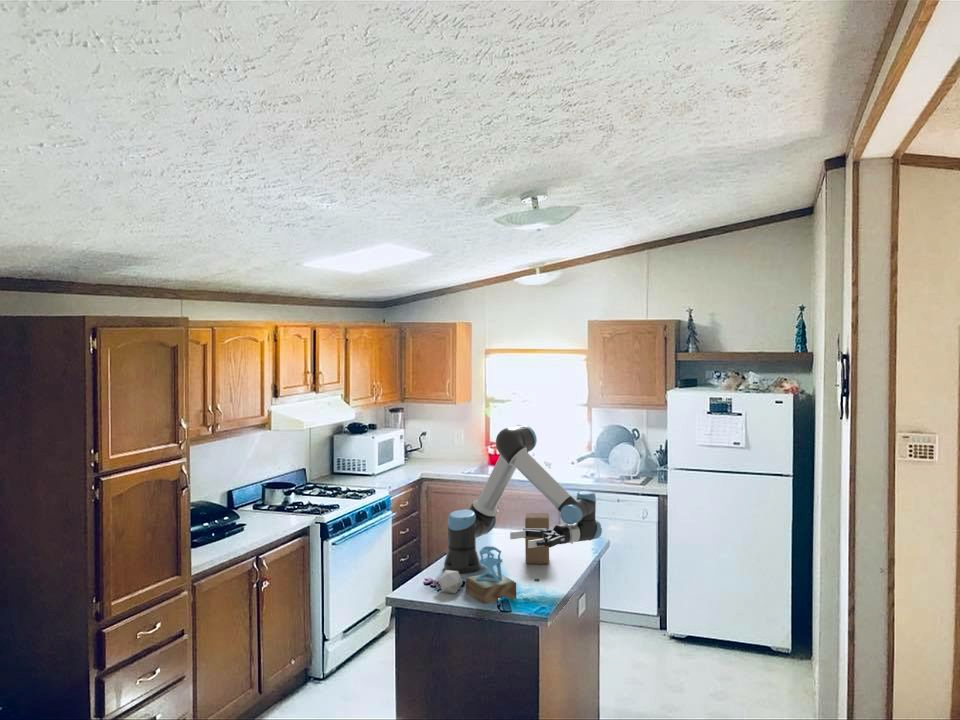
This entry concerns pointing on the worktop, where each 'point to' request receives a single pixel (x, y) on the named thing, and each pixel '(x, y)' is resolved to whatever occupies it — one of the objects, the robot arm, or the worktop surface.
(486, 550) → the chair
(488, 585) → the base block
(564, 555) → the worktop surface
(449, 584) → the die
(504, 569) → the worktop surface
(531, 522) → the block
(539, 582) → the worktop surface
